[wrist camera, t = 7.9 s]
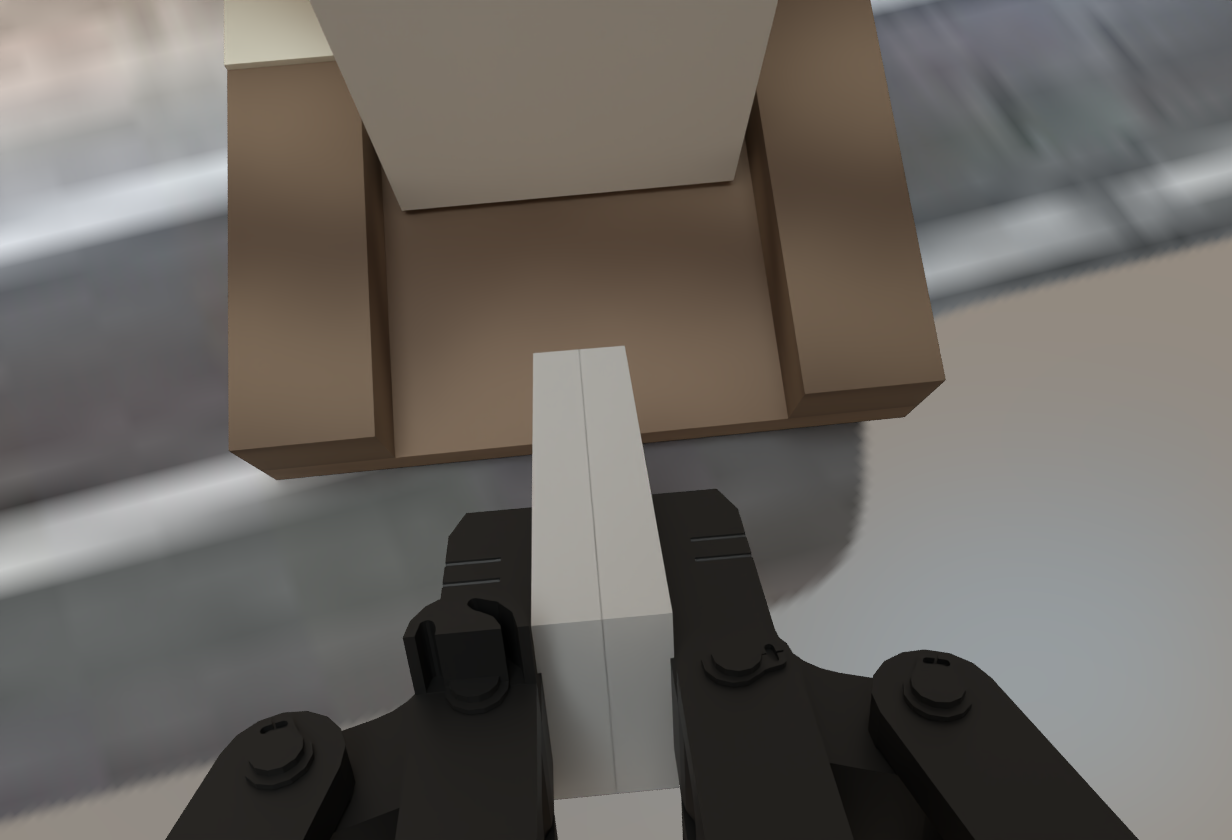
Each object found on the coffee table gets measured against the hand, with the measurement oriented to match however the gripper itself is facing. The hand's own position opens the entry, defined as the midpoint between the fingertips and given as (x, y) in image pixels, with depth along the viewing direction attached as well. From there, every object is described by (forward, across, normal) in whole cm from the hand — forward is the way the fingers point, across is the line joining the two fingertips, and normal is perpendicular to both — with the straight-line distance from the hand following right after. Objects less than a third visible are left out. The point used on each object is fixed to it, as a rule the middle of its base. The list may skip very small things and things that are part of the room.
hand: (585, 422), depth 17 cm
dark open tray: (+13, 0, +3) cm, 14 cm away
